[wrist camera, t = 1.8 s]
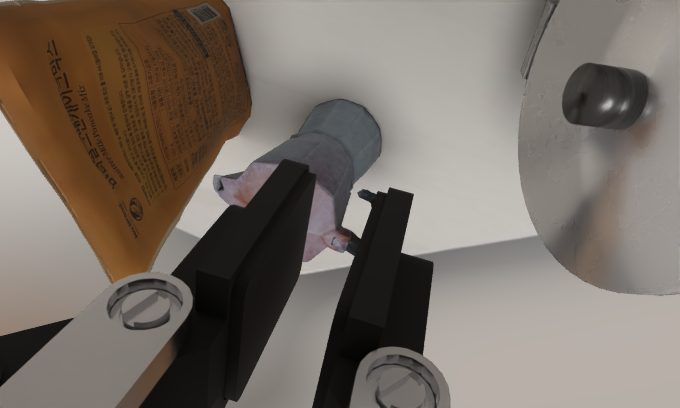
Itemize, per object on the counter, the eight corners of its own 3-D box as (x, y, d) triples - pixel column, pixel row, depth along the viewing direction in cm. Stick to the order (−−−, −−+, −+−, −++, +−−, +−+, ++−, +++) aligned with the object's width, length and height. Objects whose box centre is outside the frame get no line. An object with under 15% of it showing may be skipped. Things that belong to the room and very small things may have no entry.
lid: (504, 170, 38) (460, 166, 37) (625, -124, 27) (568, -137, 26) (718, 450, 19) (640, 451, 19) (1338, -120, 9) (1211, -164, 8)
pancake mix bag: (234, -43, 46) (-15, 0, 23) (276, 143, 55) (129, 310, 32) (173, -33, 48) (-116, 17, 24) (223, 145, 57) (47, 305, 34)
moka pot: (287, 73, 51) (194, 151, 34) (427, 120, 49) (403, 224, 33) (272, 152, 56) (185, 253, 39) (399, 195, 55) (365, 318, 38)
